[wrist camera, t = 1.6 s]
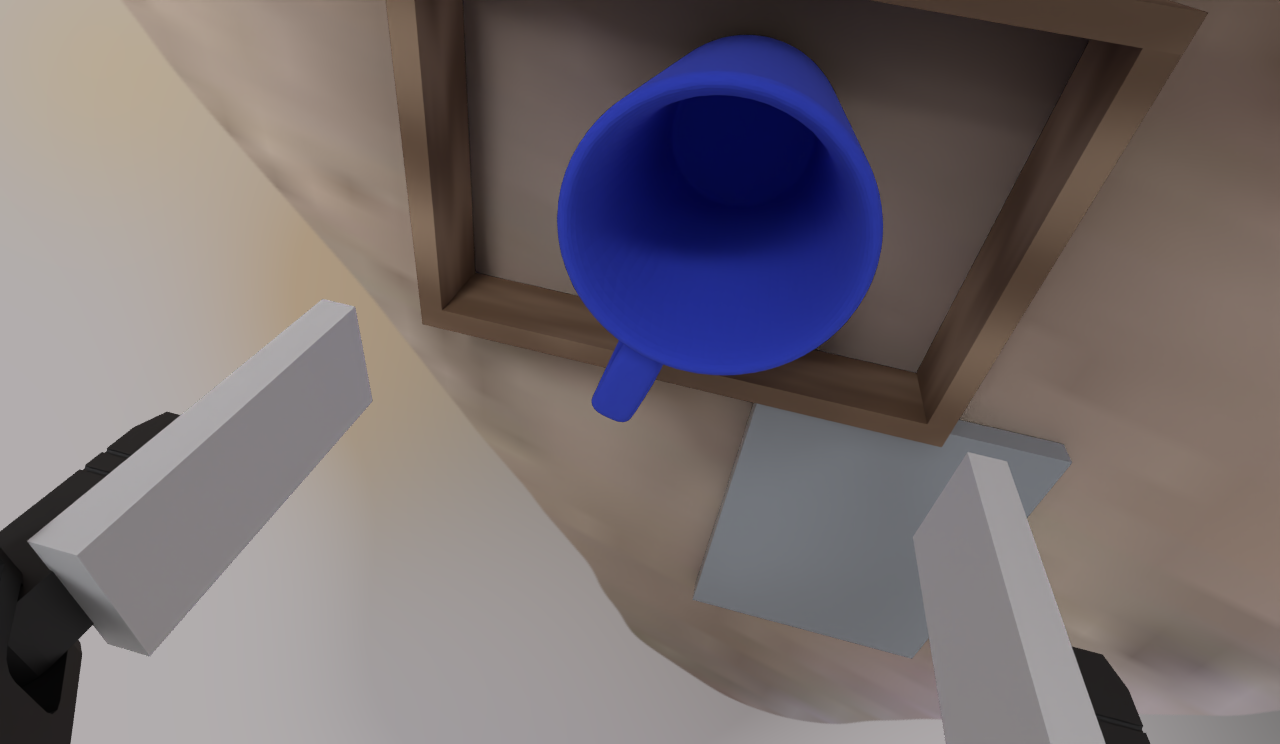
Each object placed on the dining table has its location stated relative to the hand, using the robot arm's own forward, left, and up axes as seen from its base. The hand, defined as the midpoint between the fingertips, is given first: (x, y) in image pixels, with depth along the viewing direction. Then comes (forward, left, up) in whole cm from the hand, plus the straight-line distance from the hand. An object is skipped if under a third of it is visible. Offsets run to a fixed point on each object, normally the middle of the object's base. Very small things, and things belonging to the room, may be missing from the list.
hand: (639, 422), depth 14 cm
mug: (0, 0, -15) cm, 15 cm away
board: (+18, +11, -15) cm, 25 cm away
